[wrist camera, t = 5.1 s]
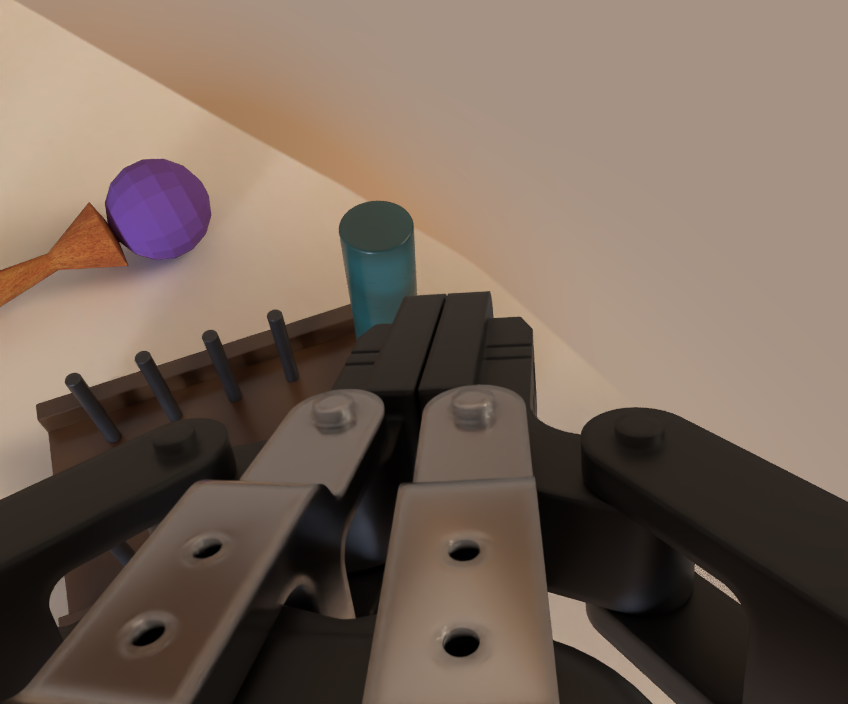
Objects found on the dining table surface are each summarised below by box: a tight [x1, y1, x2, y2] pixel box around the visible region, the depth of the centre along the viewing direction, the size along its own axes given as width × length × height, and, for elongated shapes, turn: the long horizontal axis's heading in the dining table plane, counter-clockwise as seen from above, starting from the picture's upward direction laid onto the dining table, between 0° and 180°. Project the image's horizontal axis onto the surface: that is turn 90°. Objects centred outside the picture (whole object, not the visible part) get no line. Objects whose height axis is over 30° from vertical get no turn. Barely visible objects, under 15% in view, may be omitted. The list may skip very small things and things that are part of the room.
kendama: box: [0, 159, 211, 307], centre depth 43 cm, size 6×6×20 cm
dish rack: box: [36, 201, 417, 627], centre depth 30 cm, size 18×12×16 cm, turn 112°
